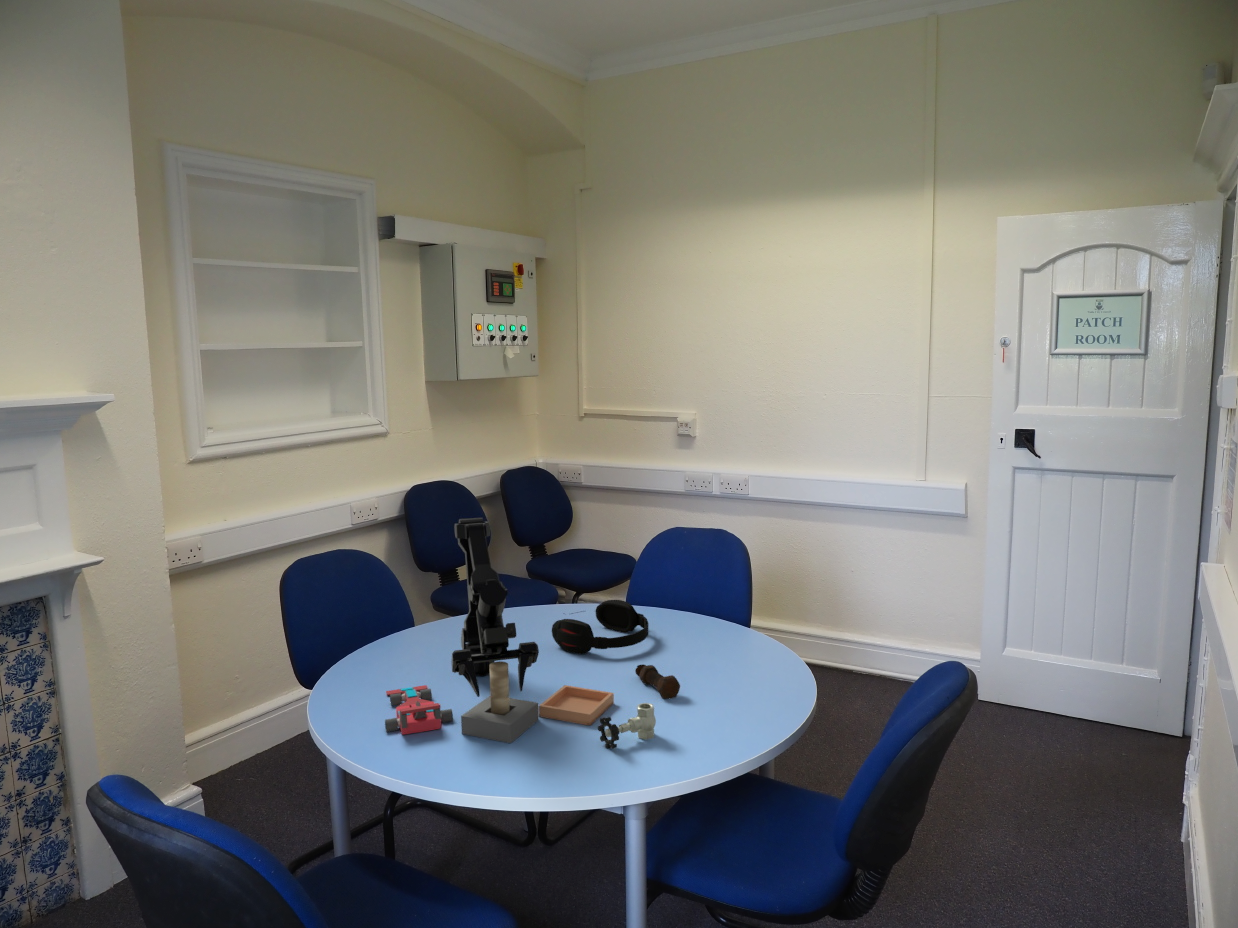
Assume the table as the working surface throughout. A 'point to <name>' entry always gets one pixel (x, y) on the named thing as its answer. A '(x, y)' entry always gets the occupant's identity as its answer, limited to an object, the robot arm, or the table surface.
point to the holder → (500, 720)
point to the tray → (576, 705)
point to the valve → (630, 726)
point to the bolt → (658, 681)
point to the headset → (610, 615)
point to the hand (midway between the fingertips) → (500, 693)
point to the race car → (416, 711)
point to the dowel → (499, 688)
